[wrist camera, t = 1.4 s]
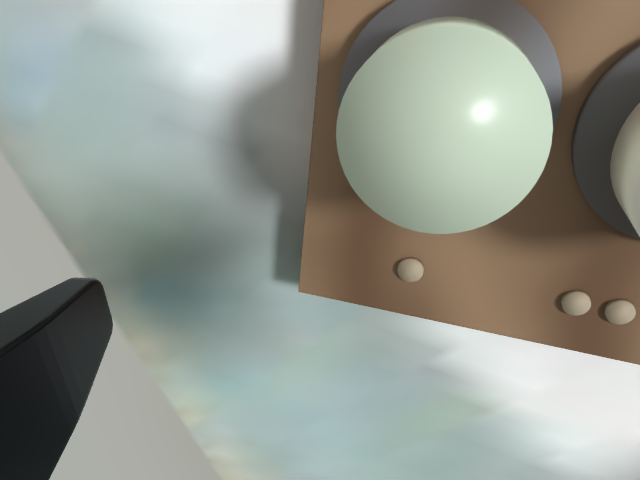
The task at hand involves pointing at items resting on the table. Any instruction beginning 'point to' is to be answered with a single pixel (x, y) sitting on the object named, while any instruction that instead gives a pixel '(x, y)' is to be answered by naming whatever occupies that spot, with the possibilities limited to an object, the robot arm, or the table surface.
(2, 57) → the table surface
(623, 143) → the cream button
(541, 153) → the sage button
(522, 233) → the button board
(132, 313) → the table surface
